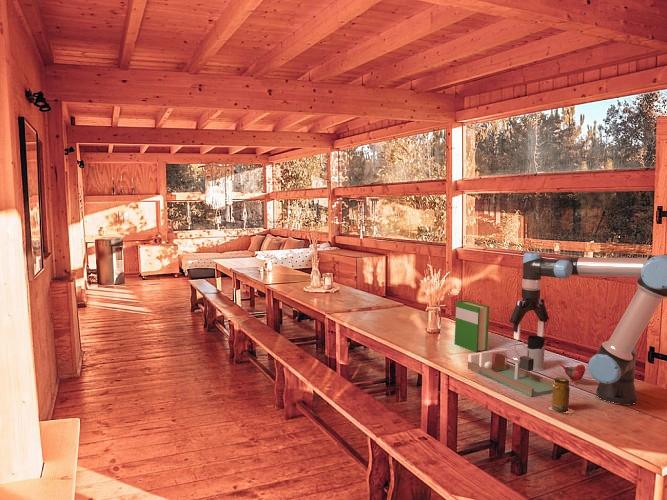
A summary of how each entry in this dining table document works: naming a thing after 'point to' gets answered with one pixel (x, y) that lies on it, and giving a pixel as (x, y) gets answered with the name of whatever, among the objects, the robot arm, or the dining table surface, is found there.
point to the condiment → (560, 395)
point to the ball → (488, 365)
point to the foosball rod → (499, 359)
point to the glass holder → (535, 351)
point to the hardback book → (471, 325)
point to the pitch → (510, 375)
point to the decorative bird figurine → (574, 372)
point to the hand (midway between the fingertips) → (528, 337)
